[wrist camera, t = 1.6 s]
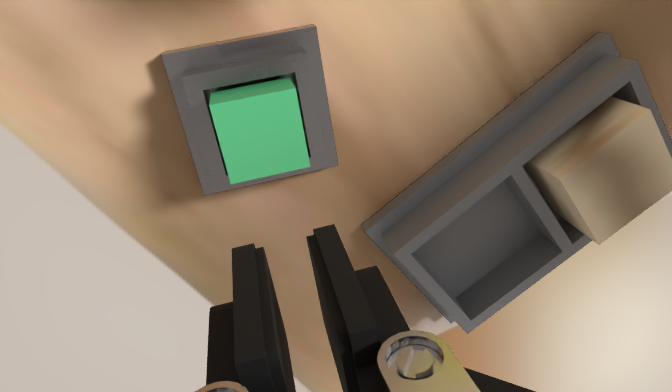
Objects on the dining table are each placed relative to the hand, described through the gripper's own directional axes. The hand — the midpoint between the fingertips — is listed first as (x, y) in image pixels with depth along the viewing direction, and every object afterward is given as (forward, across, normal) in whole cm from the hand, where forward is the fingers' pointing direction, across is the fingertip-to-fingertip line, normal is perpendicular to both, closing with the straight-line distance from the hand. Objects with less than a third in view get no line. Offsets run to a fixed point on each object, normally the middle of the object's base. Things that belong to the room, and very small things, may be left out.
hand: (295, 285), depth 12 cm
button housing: (+17, 0, 0) cm, 17 cm away
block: (+16, -20, +7) cm, 26 cm away
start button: (+15, 0, 0) cm, 15 cm away
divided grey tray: (+17, -16, +9) cm, 25 cm away
